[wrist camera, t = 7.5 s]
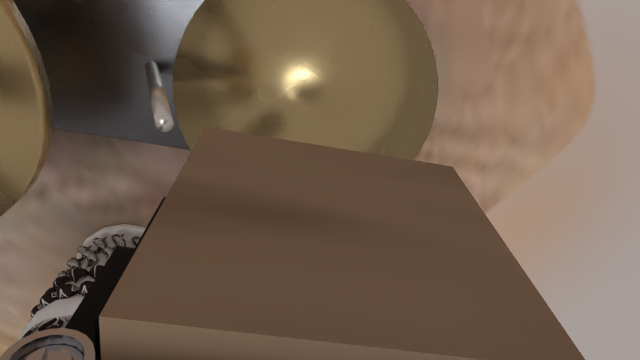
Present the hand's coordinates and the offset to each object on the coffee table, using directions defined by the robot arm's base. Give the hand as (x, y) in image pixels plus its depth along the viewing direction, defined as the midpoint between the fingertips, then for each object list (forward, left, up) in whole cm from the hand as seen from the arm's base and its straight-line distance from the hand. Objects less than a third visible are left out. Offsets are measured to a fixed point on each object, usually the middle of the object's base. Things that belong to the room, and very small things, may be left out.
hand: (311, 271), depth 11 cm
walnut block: (0, 0, -1) cm, 1 cm away
